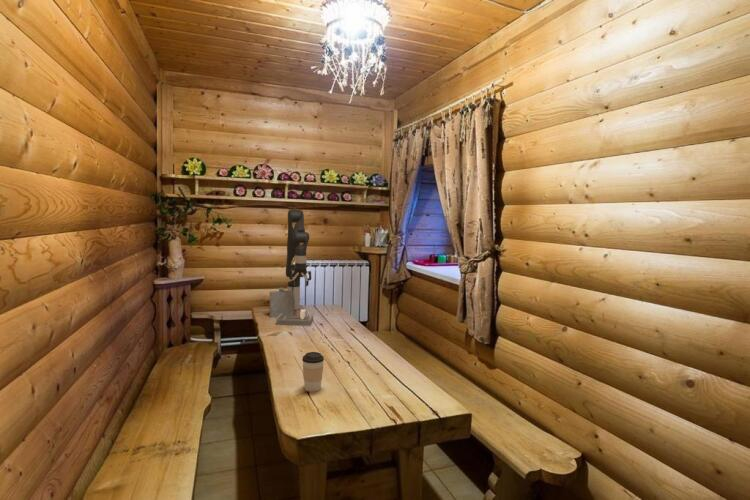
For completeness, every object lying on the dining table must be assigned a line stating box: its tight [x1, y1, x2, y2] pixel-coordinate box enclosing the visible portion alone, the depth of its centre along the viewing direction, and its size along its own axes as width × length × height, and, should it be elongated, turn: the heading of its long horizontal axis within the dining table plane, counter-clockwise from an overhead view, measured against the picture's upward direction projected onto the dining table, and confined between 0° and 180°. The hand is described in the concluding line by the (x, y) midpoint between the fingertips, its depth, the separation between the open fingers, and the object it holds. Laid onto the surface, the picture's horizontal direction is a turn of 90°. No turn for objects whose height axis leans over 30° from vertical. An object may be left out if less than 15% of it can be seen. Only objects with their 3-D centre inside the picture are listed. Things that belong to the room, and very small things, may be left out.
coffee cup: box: [301, 351, 325, 393], centre depth 174 cm, size 9×9×15 cm
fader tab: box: [299, 309, 306, 319], centre depth 274 cm, size 5×2×5 cm, turn 0°
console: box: [276, 313, 314, 327], centre depth 275 cm, size 12×22×4 cm, turn 90°
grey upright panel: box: [269, 287, 294, 318], centre depth 290 cm, size 16×4×20 cm, turn 109°
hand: (300, 286), depth 277 cm, fingers open, 8 cm apart
